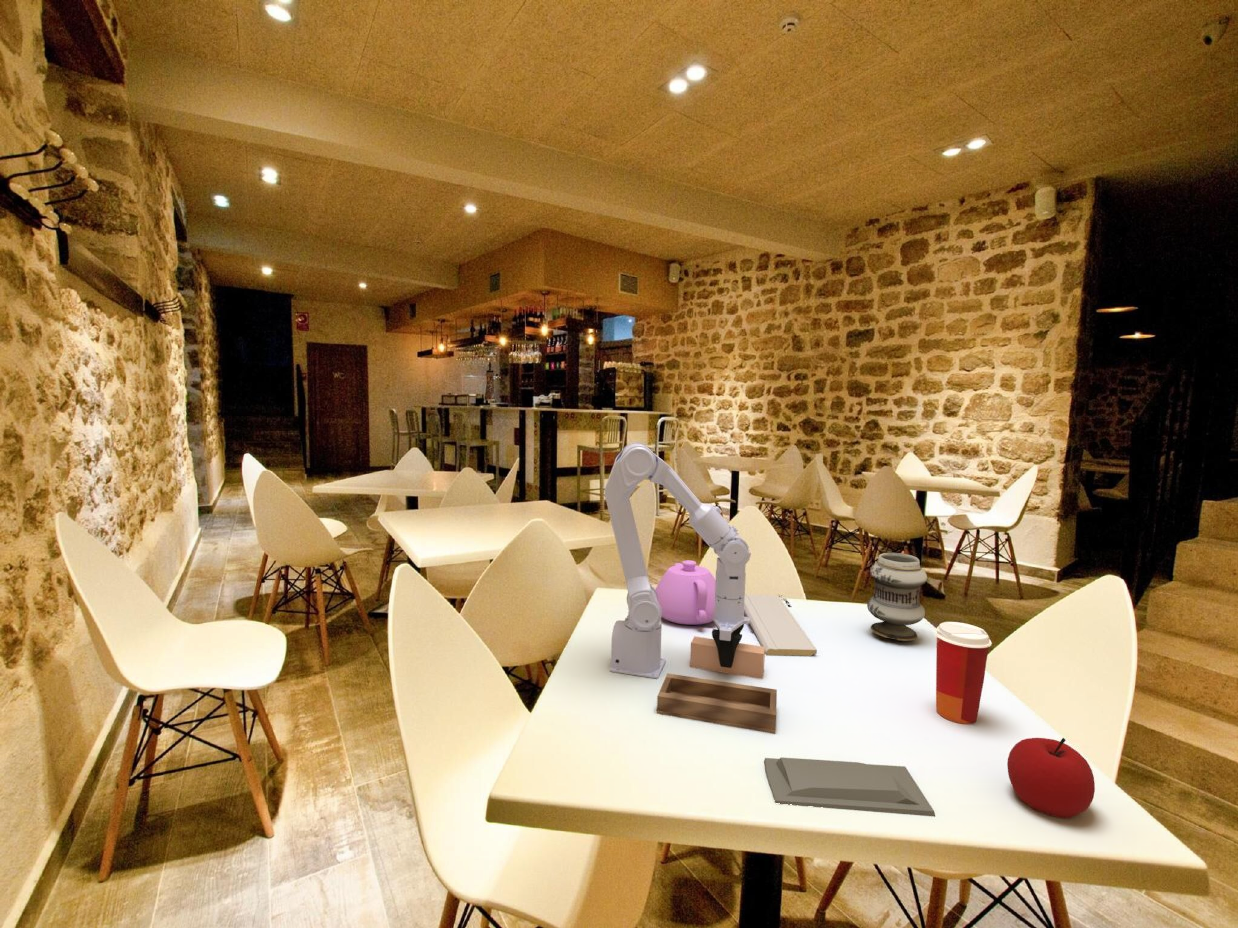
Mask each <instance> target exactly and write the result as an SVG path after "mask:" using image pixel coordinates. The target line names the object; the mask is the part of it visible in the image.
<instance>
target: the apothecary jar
mask: <svg viewBox="0 0 1238 928" xmlns="http://www.w3.org/2000/svg"><path fill="white" fill-rule="evenodd" d="M920 563H921V562H920V559H919V558H918V557H916V556H913V555H911V554H906V553H900V552H899V553H898V552H884V553H881V554H879V556H878V559H877V561H876V562H875V563H873V564H872V565H871V567H870V569H869V573H870V575H871V576H870V577H872V578H873V579H874V589H873V596H871V597H870V598H869V599H868V600H867V604H866V607H867V609H868V612H869V613H870V614H871V615H872V616H873V617H874V618H876V619H878V620H880V621H878V622H875V623H872V624H871V625H870V630H871V631H872V632H873V633H874V634H876V635H877V636H880V637H882V638H886V639H893V640H894V639H895V640H896V641H903V642H904V641H905V642H909V641H914V640H916V639H917V638H918V633H917V632H916V631H915V630H914V629H912V628H911V627H909V626H912V625H915V624H917V623H919V622H921V621H922V620H923V619H924V618H925V615H926V611H925V608H924V606H923V605H922V604H921V603H920V601H921V600H920V599H921V598H920V597H921V594H920V593H921V586H922V585H925V583H927V580H928V575H927V573H926V571H925V570H924V569H923V568H922V567H921V565H920Z"/></svg>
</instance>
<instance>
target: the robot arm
mask: <svg viewBox="0 0 1238 928" xmlns="http://www.w3.org/2000/svg"><path fill="white" fill-rule="evenodd" d="M646 479H648V481H649V482H651V483H653V484H657V485H661V486H663V487H664V488H665V489H666V490H667V491H668V493H670V495H671V496H673V498H674V499H675V500H676V501H677V502H678V503H679V504H680V505H681V507H683V509H685V510H686V512H687V513H688V515H689V517H688V518H689V519H688V524H689V526H691V528H692V529H693V530H694V531H695V532H696V533H697V535H699V536H700V538H701V539H702V540H703V541H704V542H705V544H706V545H708V547H709V548H710V549H713V552H714V554H715V555H717V556H718V557H717V558H716V569H715V580H716V581H715V606H714V615H713V621H712V622H713V623H714V624H715V626H716V629H714V628H713V629H712V631H711V636H712V639H714V641H715V643H716V646H717V650H718V656H719V662H720V666H721V667H727V668H731V667H732V664H733V660H734V655H735V651H736V648H737V645H738V644H739V643H741V640H742V638H743V634H741V632H742V631H743V629H744V627H745V625H749V624H750V618H749V617H747V616H745V613H744V601H745V595H746V580H747V579H746V576H747V575H746V565H747V563H749V561H750V558H751V557H752V556H751V555H752V553H751V552H750V550H749V546H748V543H747V542H746V541H745V540H744V539H743V538H742V537H741V536H740V535H739V532H738V529H737V527H735V525H733V526H732V525H730V524H729V522H728V521H727V520H726V519H725V518H724V516H723V515H722V512H723V510H721V508H720V507H719V506H714V505H713V504H712V503H705V502H704V503H703V502H701V501H700V500H699V499H698V497H697V496H696V495H695V494H694V492H693V491H691V489H690V488H689V486H687V484H686V483H685V482H684V481H683V480H682V478H681V477H680V476H679V474H678V473H677V472H676V471H675V470H674V469H673V468H672V467H671V465H669V464H668V463H667V462H666V461H664V460H663V459H662V458H660V457H659V456H658V455H657V454H656V453H654V452H653V451H652V450H651V449H650V448H649V446H647V445H646V444H644V443H642V442H638V441H637V442H636V441H635V442H631V443H628V444H627V445H625V446H624V447H623V449H622V450H621V451H620V452H619V453H618V455H617V456H616V457H615V459H614V463H613V465H612V468H611V471H610V473H609V476H608V479H607V482H606V484H605V487H604V498H605V501H606V506H607V510H608V513H609V519H610V522H611V526H612V530H613V534H614V539H615V543H616V546H617V551H618V554H619V560H620V564H621V567H622V572H623V574H624V575H623V576H624V579H625V585H626V589H627V594H626V603H627V606H628V608H627V609H628V613H627V616H626V617H625V619H624V620H623V619H622V620H620V619H619V620H616V621H615V622H614V626H613V628H612V634H611V651H610V652H611V653H610V654H611V655H610V657H611V658H610V659H611V662H610V668H609V671H610V672H611V673H617V674H623V675H625V674H626V675H631V676H637V677H643V678H649V679H659V677H660V674H661V672H662V671H663V668H664V666H665V664H666V659H665V658H662V657H661V655H662V630H663V629H662V624H663V623H662V618H663V617H662V610H661V607H660V605H659V602H658V596H657V593H656V591H655V590H656V588H654V586H652V583H651V582H650V580H649V575H648V570H647V567H646V563H645V558H644V554H643V549H642V546H641V541H640V535H639V532H638V528H637V524H636V520H635V517H634V516H635V515H634V511H633V508H632V503H631V500H630V497H631V495H632V494H633V493H634V491H635V490H636V488H637V487H638V486H639V484H641V483H642V482H643V481H645V480H646ZM737 532H738V533H737Z"/></svg>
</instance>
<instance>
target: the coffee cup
mask: <svg viewBox="0 0 1238 928" xmlns="http://www.w3.org/2000/svg"><path fill="white" fill-rule="evenodd" d="M933 635H934V636H935V638H936V665H935V666H936V671H935V673H936V674H935V675H936V676H935V677H936V679H935V685H936V686H935V708H936V712H937V714H938V715H939V716H941V717H942V718H944V719H946V721H947V720H948V721H950V722H953V723H956V724H962V725H972V724H975V723H976V722H977V719H978V716H979V710H980V705H981V704H980V703H981V697H982V692H983V688H984V687H983V686H984V682H985V674H986V669H987V667H986V666H987V661H988V654H989V648H990V647H991V646H992V644H993V643H992V641H991V639H990V636H989V634H988V632H986V631H985V629H983V628H981V627H978V626H976V625H972V624H969V623H965V622H959V621H944V622H941V623H939V625H938V626H937V627H936V629H935V631H934V632H933Z"/></svg>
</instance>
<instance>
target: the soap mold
mask: <svg viewBox="0 0 1238 928" xmlns="http://www.w3.org/2000/svg"><path fill="white" fill-rule="evenodd" d="M763 764H764V771H765V775H766V779H767V782H768V785H769V788H770V791H771V794H772V796H773V800H775V801H774V804H775V803H780V804H779V805H783V804H788V805H787V806H797V805H798V806H799V807H808V806H813V807H812V808H821V807H823V809H835V810H847V811H861V812H873V813H887V814H897V815H910V816H921V817H922V816H924V817H933V818H934V817H935V818H936V813H935V810H934V808H933V807H932V805H931V804H930V802H929V801H928V799H927V798H926V796H925V794H924V793H923V792H922V790H921V788H920V787H919V785H918V783H916V781H915V779H914V778H913V776H912V775H911V773H910V772H909V770H908V769H907V767H906V766H905V765H904V766H903V765H902V766H901V765H889V764H888V765H885V764H871V763H863V762H859V761H858V762H857V761H845V760H844V761H843V760H840V761H839V760H828V759H827V760H825V759H812V758H795V757H779V758H773V757H764V760H763ZM790 804H792V805H790ZM798 806H797V807H798Z"/></svg>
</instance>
